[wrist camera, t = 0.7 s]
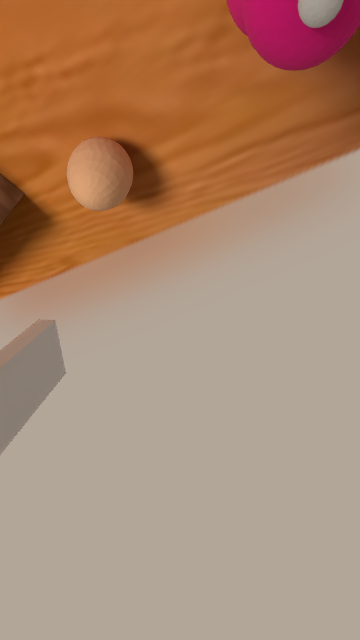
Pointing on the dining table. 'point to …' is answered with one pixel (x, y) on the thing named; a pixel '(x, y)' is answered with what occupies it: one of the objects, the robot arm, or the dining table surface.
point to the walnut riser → (8, 197)
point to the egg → (99, 173)
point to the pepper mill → (296, 29)
